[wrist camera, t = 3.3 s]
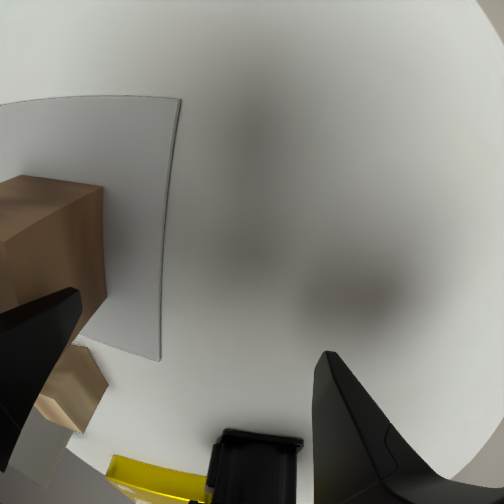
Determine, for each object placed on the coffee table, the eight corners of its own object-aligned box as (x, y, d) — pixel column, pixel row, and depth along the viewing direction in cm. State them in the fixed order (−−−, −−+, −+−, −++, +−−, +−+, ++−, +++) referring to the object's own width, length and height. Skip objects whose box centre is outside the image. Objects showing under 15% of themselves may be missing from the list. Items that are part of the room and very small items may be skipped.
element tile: (229, 502, 32) (226, 526, 28) (141, 483, 33) (134, 505, 29) (224, 476, 26) (219, 509, 21) (109, 448, 27) (98, 477, 22)
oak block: (88, 347, 17) (54, 399, 12) (108, 384, 18) (83, 434, 14) (51, 339, 17) (17, 383, 13) (71, 375, 19) (45, 418, 14)
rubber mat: (180, 99, 10) (178, 99, 10) (160, 358, 16) (159, 361, 16) (-59, 119, 10) (-61, 120, 9) (-43, 268, 16) (-45, 269, 15)
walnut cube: (104, 186, 11) (4, 242, 6) (108, 296, 14) (46, 377, 8) (21, 174, 11) (-64, 214, 6) (32, 270, 14) (-30, 326, 8)
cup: (17, 374, 21) (-23, 435, 12) (75, 416, 23) (42, 485, 14) (24, 401, 25) (-6, 452, 16) (73, 435, 26) (48, 491, 17)
